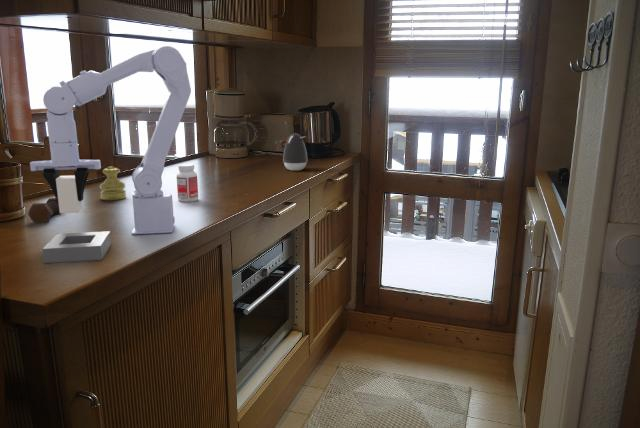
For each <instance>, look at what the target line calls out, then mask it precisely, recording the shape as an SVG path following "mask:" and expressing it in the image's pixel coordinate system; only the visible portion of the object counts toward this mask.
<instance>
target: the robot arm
mask: <svg viewBox="0 0 640 428" xmlns="http://www.w3.org/2000/svg"><path fill="white" fill-rule="evenodd" d="M187 69H188V68H187V62H186V61H185V59H184V57H183V56H182V54H181V53H180V51H179V50H178V49H176V48H175V47H173V46H170V45H164V46H161V47H159V48H158V49H152V50H148V51H144V52H141V53H138V54H136V55H134V56H132V57H130V58H128V59H125V60H124V61H122V62H120V63H118V64H116V65H114V66H112V67H109V68H108V69H106V70H103V71H102V72H97V71H95V70H89V71H86V70H82V71H80V72H79V75H77V76H76V77H73V78H72V79H71V78H70V79H69V80H67V81H65V80H61V81H59V84H60V86H52V87H50V88H49V89H47V91H46V92H45V93H44V95H43V99H42V100H43V105H44V107H45V108H46V109H47V110H46V118H47V122H46V124H47V125H46V126H47V135H48V141H49V142H48V143H49V151H50V160H36V161H31V162H29V167H30V172H37V171H43V173H42V176H43V178H44V179H45V181H46V182H47V183H48V185H49V187H50V189H51V190H52V192H53V195H54V198H56V201H57V202H58V194H57V185H56V178H58V177H59V176H61V171H63V170H65V171H66V170H68V171H69V170H75V171H73V174H74V175H75V179H76V184H77V196H78V201H82V202H83V200H84V192H85V188H86V183H87V179H88V177H89V174H90V173H91V170H101V168H102V165H101V160H100V159H80V153H79V143H78V136H77V126H76V120H75V119H74V118H75V117H74V110H73V107H74V106H78V107H81V106H82V105H85V104H87V103H89V102H91V101H93V100H95V99H97V98H99V97H101V96H104V95H105V94H106V92H107V88H108V86H110V85H111V84H114V83H116V82H119V81H121V80H123V79H125V78H128V77H130V76H132V75H135V74H137V73H139V72H142V73H154V71H155V73H156V74H157V75H158V76H159V77H160V78H161V79H162V81H163V83H164V85H165V87H166V88H167V91H168V94H167V96H166V100H165V102H164V103H163V107H162V109H161V112H160V115H159V117H158V120H157V123H156V126H155V128H154V131H153V133H152V136H151V138H150V141H149V143H148V147H147V149H146V152H145V154H144V156H143V157H142V160H141V163H140V164H139V165H137V167H136V168H135V169H134V170H133V172H132V175H131V179H132V183H133V185H134V189H135V190H134V191H133V192H132V193H131V196H132V207H133V220H134V227H133V229H132V230H131V232H130V233H131V235H147V234H148V235H149V234H166V233H167V234H168V233H171V234H172V233H173V232H174V227H175V223H176V222H175V216H174V203H173V202H174V201H173V194H171V193H168V194H167V193H164V191H163V189H162V186H163V182H162V181H163V180H162V175H163V172H164V169H165V162H166V159H167V156H168V153H169V152H170V150H171V146H172V143H173V141H174V138H175V136H176V132H177V131H178V128H179V125H180V123H181V119H182V117H183V114H184V112H185V109H186V106H187V105H188V102H189V99H190V97H191V93H192V89H191V83H190V78H189V75H188V74H189V73H188V70H187Z"/></svg>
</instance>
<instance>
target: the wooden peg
mask: <svg viewBox="0 0 640 428" xmlns="http://www.w3.org/2000/svg"><path fill="white" fill-rule="evenodd" d="M56 185H57V194H58V202H59V211H60V214H74V213H75V214H77V213H80V212H81V211H82V210H83V203H82V202H83V200H82V201H78V196H77V184H76V179H75V175H60V176H59V177H58V178H56Z"/></svg>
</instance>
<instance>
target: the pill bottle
mask: <svg viewBox="0 0 640 428" xmlns="http://www.w3.org/2000/svg"><path fill="white" fill-rule="evenodd" d="M177 168H178V172H177V173H176V190H177V200H178V201H179V202H181V203H193V202H197V201H198V200H199V184H198V174H197V172H196V171H195V164H194V163H184V164H183V163H182V164H178V167H177Z"/></svg>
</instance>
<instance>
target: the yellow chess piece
mask: <svg viewBox="0 0 640 428" xmlns="http://www.w3.org/2000/svg"><path fill="white" fill-rule="evenodd" d="M120 172H121V170H120V168H118V167H115V166H113V165H111V166H107V167H106V168H104V169H103V170H102V173H103V174H104V175H106V178H105V180H104V181H103V182H101V183H100V184H99V188H100V190H101V191H100V199H101V200H103V201H111V202H112V201H118V200H123V199H126V198H127V195H126V192H127V190H126V189H125V188H126V184H125V182H123V181H121V180H120V179H119V178H118V177H117V176H118V173H120Z"/></svg>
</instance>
